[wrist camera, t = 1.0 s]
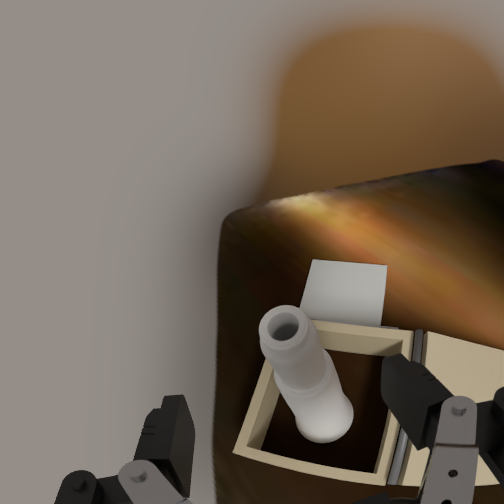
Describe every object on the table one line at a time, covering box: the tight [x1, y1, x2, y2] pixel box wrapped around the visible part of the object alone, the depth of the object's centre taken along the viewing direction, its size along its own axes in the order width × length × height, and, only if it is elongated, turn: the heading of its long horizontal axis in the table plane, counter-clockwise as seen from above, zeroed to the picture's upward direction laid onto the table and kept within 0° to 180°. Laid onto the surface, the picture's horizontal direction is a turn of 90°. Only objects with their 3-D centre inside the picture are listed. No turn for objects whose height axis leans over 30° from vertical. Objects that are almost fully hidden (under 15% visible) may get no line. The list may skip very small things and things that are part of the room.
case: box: [233, 317, 423, 486], centre depth 28 cm, size 16×15×6 cm
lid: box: [397, 331, 504, 486], centre depth 22 cm, size 15×13×1 cm
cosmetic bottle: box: [259, 305, 353, 443], centre depth 22 cm, size 6×6×22 cm
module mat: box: [299, 259, 387, 326], centre depth 38 cm, size 10×10×1 cm
